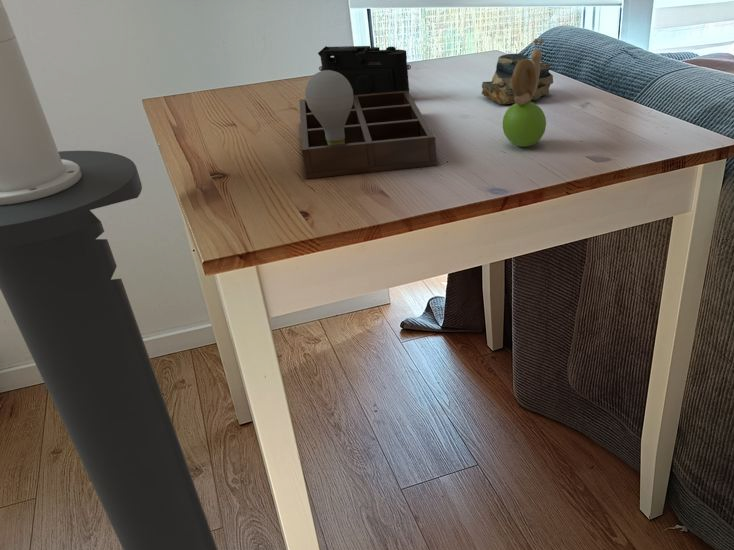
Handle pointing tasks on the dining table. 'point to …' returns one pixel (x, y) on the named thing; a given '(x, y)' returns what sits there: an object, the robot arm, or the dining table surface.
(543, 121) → the snail figurine
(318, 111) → the light bulb
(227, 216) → the dining table surface
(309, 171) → the compartment tray
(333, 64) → the camera
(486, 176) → the dining table surface
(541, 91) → the rock
